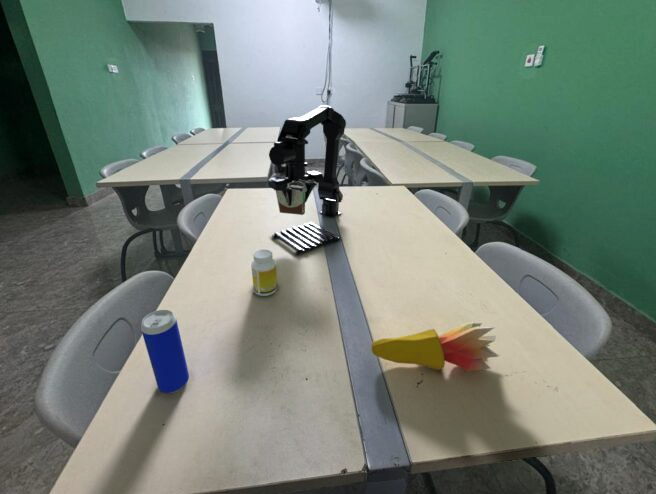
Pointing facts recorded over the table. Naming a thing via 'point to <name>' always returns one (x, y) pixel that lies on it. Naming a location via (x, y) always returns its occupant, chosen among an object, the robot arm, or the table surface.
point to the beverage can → (165, 350)
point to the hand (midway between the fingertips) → (297, 203)
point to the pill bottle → (264, 273)
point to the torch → (440, 348)
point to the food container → (293, 200)
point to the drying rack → (305, 247)
